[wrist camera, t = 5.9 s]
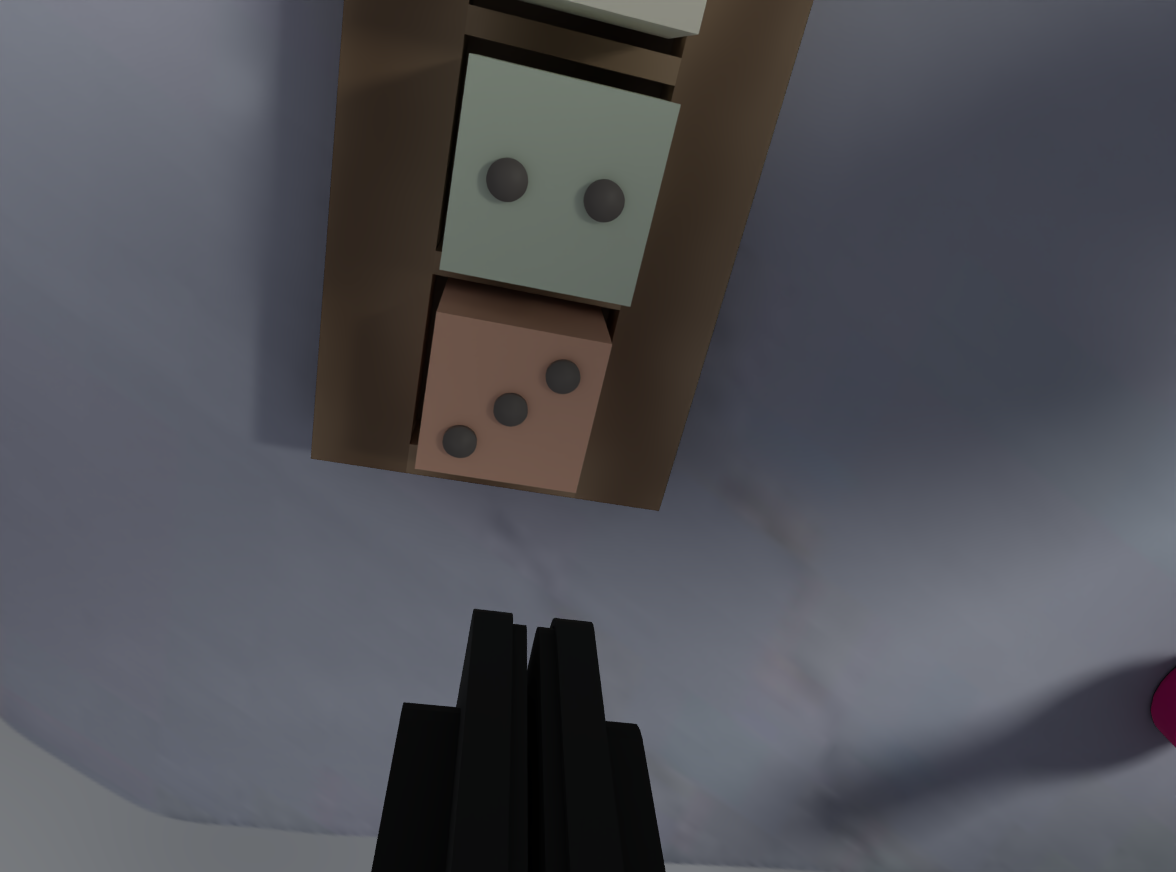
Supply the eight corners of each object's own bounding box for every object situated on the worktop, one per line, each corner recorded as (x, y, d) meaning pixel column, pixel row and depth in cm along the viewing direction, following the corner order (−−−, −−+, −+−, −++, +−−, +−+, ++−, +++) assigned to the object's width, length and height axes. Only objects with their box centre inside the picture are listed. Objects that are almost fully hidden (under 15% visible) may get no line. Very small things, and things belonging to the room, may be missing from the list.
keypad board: (846, -197, 20) (881, -224, 18) (649, 480, 29) (659, 510, 27) (388, -344, 18) (372, -393, 16) (326, 429, 27) (310, 458, 25)
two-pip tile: (654, 97, 22) (682, 104, 18) (614, 269, 24) (631, 308, 20) (478, 54, 21) (468, 53, 17) (452, 236, 23) (438, 271, 19)
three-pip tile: (599, 304, 25) (613, 346, 22) (568, 436, 27) (576, 496, 24) (448, 274, 24) (435, 313, 21) (429, 413, 27) (413, 471, 23)
